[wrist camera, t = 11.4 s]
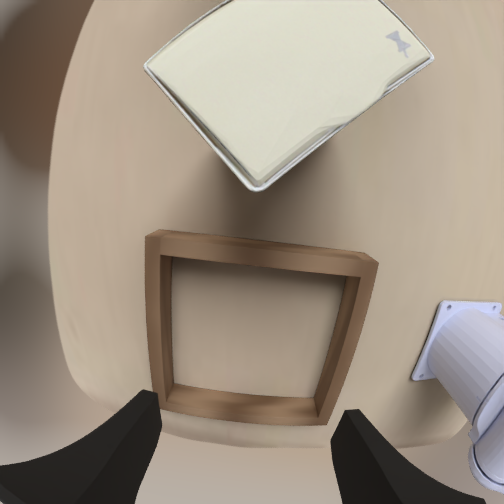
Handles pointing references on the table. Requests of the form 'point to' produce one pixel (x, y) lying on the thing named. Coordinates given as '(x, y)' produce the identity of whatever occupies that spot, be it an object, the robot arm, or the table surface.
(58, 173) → the table surface
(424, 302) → the table surface
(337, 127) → the skincare box
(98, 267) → the table surface
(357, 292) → the walnut box
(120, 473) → the robot arm
